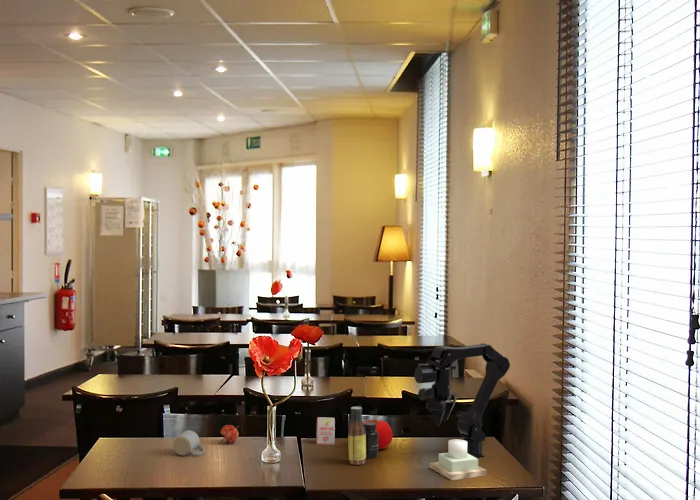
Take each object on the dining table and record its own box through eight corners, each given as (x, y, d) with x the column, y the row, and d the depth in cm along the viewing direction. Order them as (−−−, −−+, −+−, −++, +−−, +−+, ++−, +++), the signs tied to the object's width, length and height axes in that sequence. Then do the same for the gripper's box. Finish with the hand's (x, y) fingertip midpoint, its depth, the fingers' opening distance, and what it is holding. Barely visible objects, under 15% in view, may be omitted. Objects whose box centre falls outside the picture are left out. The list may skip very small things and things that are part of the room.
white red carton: (317, 441, 308) (317, 416, 308) (334, 442, 308) (334, 416, 308) (316, 444, 305) (316, 418, 304) (333, 444, 304) (334, 419, 304)
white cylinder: (460, 452, 279) (460, 438, 278) (470, 457, 273) (471, 443, 273) (444, 454, 276) (444, 440, 276) (454, 459, 270) (455, 445, 270)
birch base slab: (463, 465, 283) (463, 458, 283) (486, 477, 271) (486, 470, 271) (429, 470, 277) (429, 463, 277) (451, 482, 265) (451, 474, 265)
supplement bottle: (376, 459, 286) (377, 426, 286) (358, 458, 288) (358, 425, 287) (379, 454, 293) (380, 421, 293) (361, 452, 295) (362, 420, 294)
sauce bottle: (368, 462, 283) (369, 406, 282) (361, 466, 277) (362, 410, 277) (352, 459, 286) (353, 404, 285) (344, 464, 280) (345, 408, 279)
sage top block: (463, 460, 281) (463, 451, 280) (478, 469, 271) (478, 459, 271) (438, 463, 277) (438, 453, 277) (452, 472, 268) (452, 462, 268)
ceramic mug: (171, 455, 286) (172, 434, 286) (180, 449, 294) (180, 429, 294) (199, 458, 284) (200, 437, 284) (207, 452, 292) (208, 431, 292)
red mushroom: (223, 452, 299) (244, 435, 301) (211, 436, 299) (233, 420, 301) (224, 448, 307) (244, 432, 308) (212, 433, 307) (233, 417, 308)
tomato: (399, 446, 303) (399, 419, 303) (382, 454, 292) (382, 426, 292) (367, 440, 311) (367, 414, 311) (349, 448, 300) (349, 421, 300)
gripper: (429, 374, 298) (428, 416, 299) (412, 383, 281) (411, 427, 282) (457, 377, 294) (456, 419, 294) (442, 386, 277) (441, 431, 277)
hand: (441, 424), depth 287 cm, fingers open, 9 cm apart
